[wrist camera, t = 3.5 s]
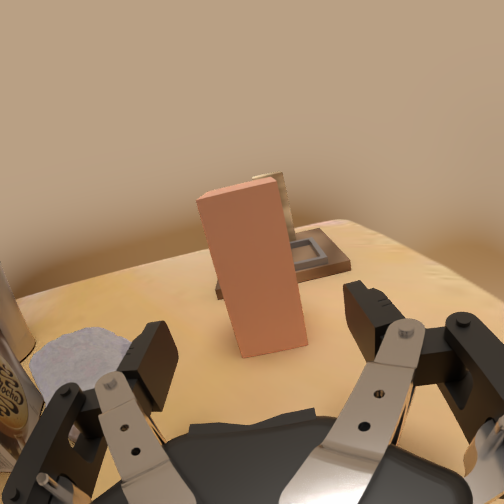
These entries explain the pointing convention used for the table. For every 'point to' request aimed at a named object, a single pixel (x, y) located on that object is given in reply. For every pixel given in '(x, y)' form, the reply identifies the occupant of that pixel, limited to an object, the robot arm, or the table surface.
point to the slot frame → (312, 262)
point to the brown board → (335, 257)
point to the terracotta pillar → (254, 265)
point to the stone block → (77, 361)
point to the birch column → (282, 201)
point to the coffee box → (15, 407)
